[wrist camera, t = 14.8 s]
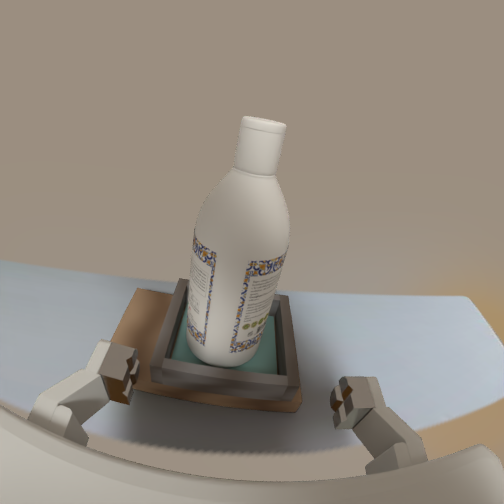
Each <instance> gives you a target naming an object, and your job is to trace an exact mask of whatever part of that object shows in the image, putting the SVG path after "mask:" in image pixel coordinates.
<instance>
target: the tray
mask: <svg viewBox="0 0 504 504" xmlns="http://www.w3.org/2000/svg"><path fill="white" fill-rule="evenodd" d="M189 282H190V280H187V279H179V281H178V284H177V286H176V289H175V292H174V295H171V294H165V293H160V292H155V291H150V290H145V289H141V288H137V290H136V292H135V293H134V295H133V297H132V299H131V301H130V303H129V305H128V307H127V309H126V311H125V313H124V315H123V317H122V319H121V321H120V323H119V325H118V327H117V329H116V331H115V333H114V335H113V337H112V339H111V341H110V342H114V343H117V344H121V345H124V346H128V347H131V348H135V349H137V350H138V357H137V360H138V361H139V364H140V371H139V377H138V380H137V383H136V384H134V385H133V389H136V390H140V391H144V392H149V393H153V394H157V395H162V396H166V397H171V398H176V399H181V400H187V401H192V402H198V403H204V404H211V405H217V406H225V407H233V408H241V409H251V410H262V411H276V412H296V411H297V409H298V408H299V406H300V405H301V403H302V397H301V388H300V379H299V371H298V363H297V355H296V347H295V340H294V332H293V325H292V317H291V312H290V305H289V298H288V296H285V295H278V294H274V298H273V301H272V305H271V308H270V311H269V315H268V318H267V321H266V324H265V328H264V331H263V334H262V337H261V340H260V343H259V346H258V349H257V351H256V353H255V355H254V356H253V357H252V358H251V359H250V360H249V361H248V362H246V363H244V364H242V365H240V366H236V367H230V368H222V367H216V366H212V365H209V364H207V363H205V362H203V361H201V360H200V359H198V358H197V357H196V356H195V355H194V354H193V353H192V351H191V350H190V348H189V346H188V344H187V339H186V330H187V310H188V295H189Z"/></svg>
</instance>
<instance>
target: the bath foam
mask: <svg viewBox="0 0 504 504" xmlns="http://www.w3.org/2000/svg"><path fill="white" fill-rule="evenodd" d="M285 132H286V125H285V124H283V123H280V122H277V121H272V120H268V119H263V118H257V117H250V116H244V117H243V118H242V121H241V126H240V131H239V136H238V143H237V147H236V153H235V160H234V166H233V168H232V169H231V170H230V171H229V173H228V174H227V175H226V176H225V177H224V178H223V179H222V180H221V181H220V182H219V183H218V184H217V185H216V187H215V188H214V189H213V190H212V191H211V193H210V194H209V195H208V197H207V198H206V200H205V201H204V203H203V205H202V207H201V210H200V212H199V215H198V218H197V222H196V226H195V229H194V239H193V249H192V259H191V270H190V282H189V295H188V310H187V330H186V339H187V344H188V346H189V348H190V350H191V351H192V353H193V354H194V355H195V356H196V357H197V358H198V359H200V360H201V361H203V362H205V363H207V364H209V365H212V366H216V367H222V368H230V367H236V366H240V365H242V364H244V363H246V362H248V361H249V360H250V359H251V358H252V357H253V356H254V355H255V353H256V351H257V349H258V346H259V343H260V340H261V337H262V334H263V331H264V328H265V324H266V321H267V318H268V315H269V311H270V308H271V305H272V301H273V298H274V294H275V291H276V288H277V284H278V281H279V277H280V274H281V270H282V267H283V263H284V260H285V256H286V252H287V249H288V244H289V236H290V220H289V214H288V209H287V206H286V203H285V200H284V197H283V194H282V191H281V189H280V186H279V184H278V181H277V178H276V171H277V168H278V164H279V159H280V155H281V150H282V146H283V141H284V137H285Z"/></svg>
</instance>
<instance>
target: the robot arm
mask: <svg viewBox="0 0 504 504" xmlns="http://www.w3.org/2000/svg"><path fill="white" fill-rule="evenodd" d="M137 357H138V350H137V349H135V348H131V347H128V346H124V345H121V344H117V343H114V342H110V341H107V340H103V339H101V340H100V341H99V342H98V344H97V346H96V348H95V350H94V352H93V354H92V356H91V358H90V360H89V362H88V364H87V366H86V368H85V370H84V369H80V370H79V371H77V372H75V373H74V374H72V375H71V376H69V377H67V378H66V379H64V380H62V381H61V382H59V383H57V384H56V385H54V386H52V387H51V388H49V389H47V390H46V391H44V392H42V393H41V394H39V396H38V398H37V400H36V402H35V404H34V406H33V409H32V411H31V413H30V415H29V417H28V419H27V420H26V419H25V418H23V417H21V416H19V415H17V414H16V413H14V412H12V411H10V410H9V409H7V408H5V407H4V406H2V405H0V504H504V470H503V467H502V464H501V461H500V460H499V458H498V457H497V456H496V455H495V454H494V453H493V452H492V451H491V450H490V449H489V448H488V447H486V446H485V445H483V444H477V445H474V446H472V447H469V448H466V449H464V450H461V451H458V452H456V453H453V454H450V455H447V456H444V457H441V458H438V459H434V460H431V461H428V459H427V455H426V452H425V448H424V445H423V442H422V439H421V437H420V436H419V435H418V434H417V433H416V432H415V431H413V430H412V429H411V428H410V427H409V426H408V425H407V424H406V423H405V422H404V421H403V420H402V419H401V418H400V417H399V416H398V415H397V414H396V413H395V412H394V411H392V410H391V409H390V408H389V407H386V405H385V402H384V398H383V395H382V392H381V389H380V386H379V383H378V380H377V378H376V377H346V376H344V377H342V378H341V379H340V380H339V385H338V386H336V387H335V388H334V389H333V391H332V392H331V397H330V405H331V408H332V409H333V410H334V411H335V413H334V415H333V422H334V428H335V429H352V430H353V432H354V433H355V434H356V436H357V437H358V438H359V439H360V441H361V442H362V443H363V445H364V446H365V447H366V448H367V450H368V451H369V452H370V454H371V455H372V456H373V457H374V460H372V461H371V462H370V463H368V464H367V465H366V467H365V469H366V475H363V476H356V477H349V478H341V479H330V480H318V481H298V482H263V481H243V480H230V479H221V478H212V477H204V476H197V475H191V474H185V473H179V472H174V471H169V470H164V469H160V468H155V467H151V466H147V465H143V464H139V463H135V462H132V461H128V460H125V459H121V458H118V457H115V456H112V455H109V454H106V453H103V452H100V451H97V450H94V449H91V448H89V447H86V446H87V442H88V439H89V437H88V435H87V433H86V432H85V431H84V429H83V428H82V426H81V425H82V424H83V423H84V422H85V421H87V420H88V419H89V418H90V417H91V416H93V415H94V414H95V413H96V412H97V411H99V410H100V409H101V408H102V407H103V406H105V405H106V404H107V403H108V402H109V401H110V400H112V401H115V402H119V403H123V404H127V405H130V402H131V399H132V396H133V393H134V391H133V385H134V384H136V383H137V380H138V377H139V371H140V364H139V361H138V360H137Z"/></svg>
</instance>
